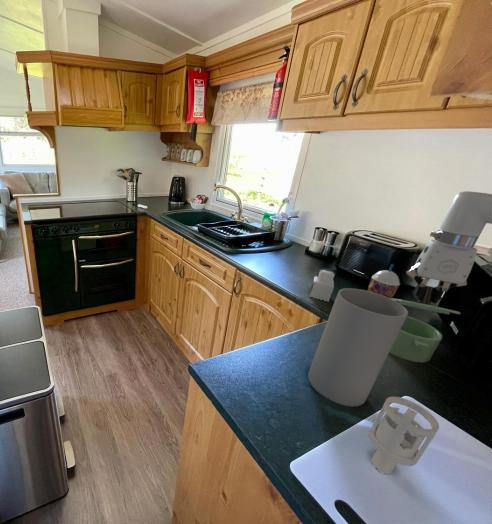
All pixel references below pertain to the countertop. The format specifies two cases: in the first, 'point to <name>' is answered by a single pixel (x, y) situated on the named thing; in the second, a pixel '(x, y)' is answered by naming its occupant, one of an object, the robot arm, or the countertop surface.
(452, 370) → the countertop surface
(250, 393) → the countertop surface
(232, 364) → the countertop surface
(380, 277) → the smoothie
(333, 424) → the countertop surface
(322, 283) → the medicine bottle
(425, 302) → the lid
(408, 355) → the pot
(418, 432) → the strainer
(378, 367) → the cylinder vase
